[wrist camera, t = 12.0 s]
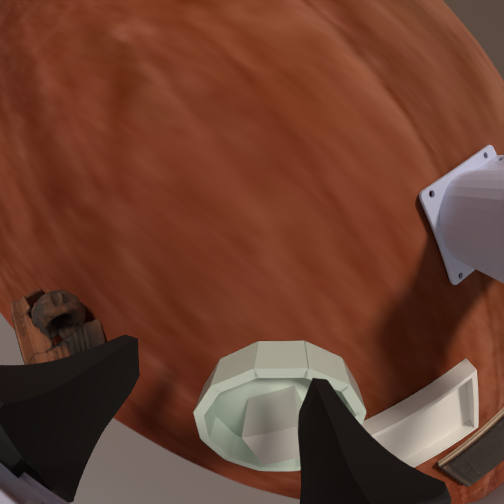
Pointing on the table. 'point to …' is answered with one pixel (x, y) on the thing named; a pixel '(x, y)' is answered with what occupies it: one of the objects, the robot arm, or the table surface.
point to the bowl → (261, 382)
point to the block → (273, 425)
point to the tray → (430, 417)
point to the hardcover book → (477, 453)
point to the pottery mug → (53, 326)
